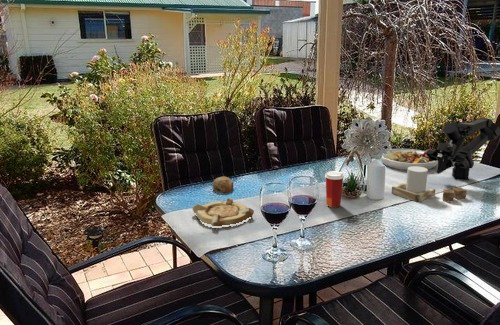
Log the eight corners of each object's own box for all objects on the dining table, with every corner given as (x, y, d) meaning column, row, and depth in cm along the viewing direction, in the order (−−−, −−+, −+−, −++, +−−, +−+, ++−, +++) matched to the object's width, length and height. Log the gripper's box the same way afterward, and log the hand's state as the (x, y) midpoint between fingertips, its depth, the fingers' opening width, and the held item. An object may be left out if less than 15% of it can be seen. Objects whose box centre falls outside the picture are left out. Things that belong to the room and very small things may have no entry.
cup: (416, 190, 192) (418, 165, 189) (429, 196, 185) (431, 170, 182) (401, 193, 190) (403, 167, 187) (413, 199, 183) (416, 172, 179)
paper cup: (344, 203, 180) (346, 171, 176) (340, 209, 173) (341, 177, 169) (326, 200, 183) (327, 169, 179) (321, 207, 176) (322, 175, 172)
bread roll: (211, 197, 200) (207, 185, 195) (219, 182, 207) (215, 170, 202) (230, 199, 197) (226, 187, 192) (238, 184, 204) (234, 172, 199)
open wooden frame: (408, 187, 197) (409, 181, 196) (434, 195, 186) (435, 189, 185) (391, 193, 190) (391, 186, 189) (417, 201, 180) (418, 195, 179)
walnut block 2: (459, 196, 185) (460, 187, 184) (465, 199, 182) (466, 190, 181) (451, 196, 185) (452, 188, 184) (457, 200, 181) (458, 191, 180)
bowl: (397, 174, 216) (398, 160, 214) (370, 159, 244) (370, 146, 242) (450, 170, 222) (451, 155, 219) (417, 155, 250) (418, 142, 248)
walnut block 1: (452, 198, 182) (453, 190, 181) (453, 202, 179) (454, 193, 178) (442, 197, 184) (443, 189, 183) (442, 201, 180) (443, 192, 179)
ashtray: (194, 232, 156) (193, 220, 155) (192, 208, 179) (191, 197, 178) (257, 227, 160) (257, 215, 158) (248, 204, 182) (247, 193, 181)
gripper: (429, 132, 201) (413, 159, 198) (468, 139, 186) (450, 168, 184) (438, 146, 208) (422, 171, 205) (475, 153, 193) (459, 181, 190)
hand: (437, 173), depth 196 cm, fingers closed
